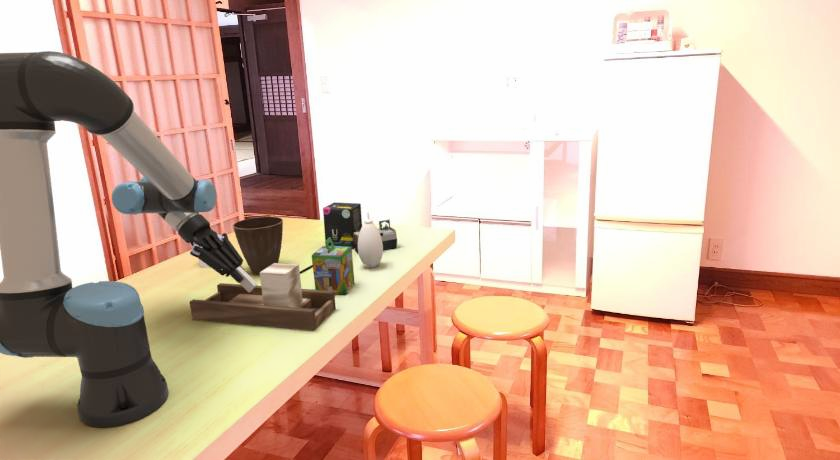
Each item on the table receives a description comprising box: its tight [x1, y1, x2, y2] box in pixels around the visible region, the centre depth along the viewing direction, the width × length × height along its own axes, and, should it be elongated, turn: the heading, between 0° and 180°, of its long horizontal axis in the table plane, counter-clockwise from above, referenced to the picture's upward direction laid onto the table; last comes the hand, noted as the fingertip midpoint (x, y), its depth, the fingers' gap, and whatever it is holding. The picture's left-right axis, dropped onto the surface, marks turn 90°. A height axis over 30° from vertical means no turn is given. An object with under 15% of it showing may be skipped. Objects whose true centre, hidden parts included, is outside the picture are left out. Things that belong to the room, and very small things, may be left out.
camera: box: [353, 218, 398, 256], centre depth 190 cm, size 15×8×10 cm, turn 113°
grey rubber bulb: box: [357, 212, 384, 269], centre depth 172 cm, size 8×8×18 cm
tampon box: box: [322, 202, 363, 250], centre depth 197 cm, size 11×9×15 cm
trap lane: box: [189, 282, 337, 332], centre depth 142 cm, size 13×34×5 cm, turn 75°
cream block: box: [259, 262, 303, 307], centre depth 138 cm, size 7×7×10 cm
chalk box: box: [311, 237, 356, 295], centre depth 156 cm, size 9×9×15 cm
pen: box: [300, 264, 313, 275], centre depth 173 cm, size 1×19×1 cm, turn 156°
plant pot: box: [232, 216, 284, 276], centre depth 173 cm, size 15×15×16 cm
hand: (253, 288), depth 141 cm, fingers closed
